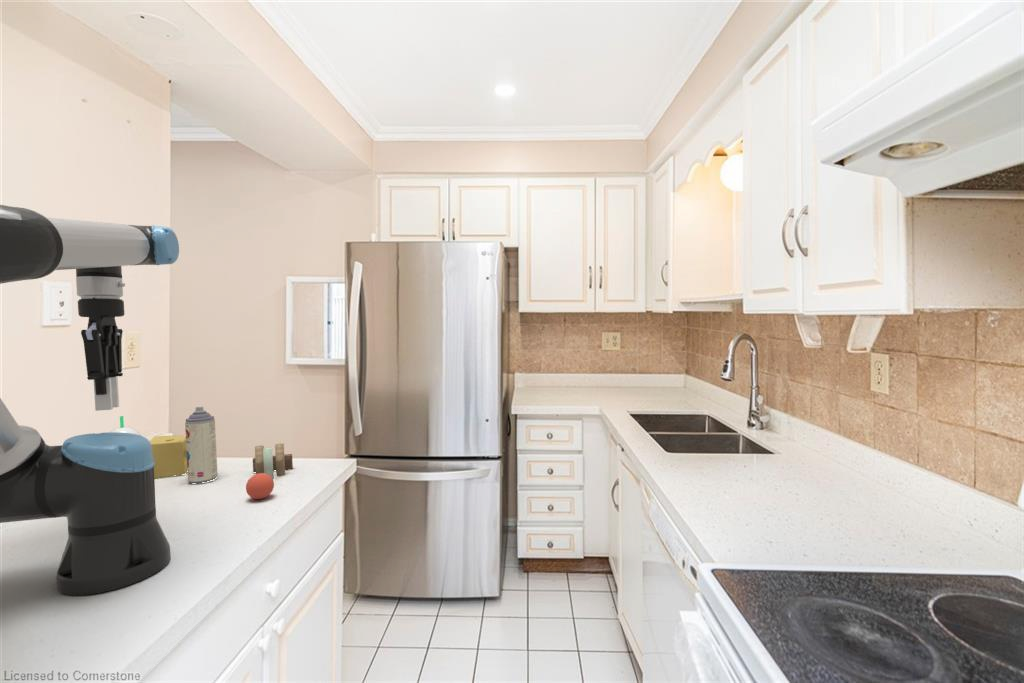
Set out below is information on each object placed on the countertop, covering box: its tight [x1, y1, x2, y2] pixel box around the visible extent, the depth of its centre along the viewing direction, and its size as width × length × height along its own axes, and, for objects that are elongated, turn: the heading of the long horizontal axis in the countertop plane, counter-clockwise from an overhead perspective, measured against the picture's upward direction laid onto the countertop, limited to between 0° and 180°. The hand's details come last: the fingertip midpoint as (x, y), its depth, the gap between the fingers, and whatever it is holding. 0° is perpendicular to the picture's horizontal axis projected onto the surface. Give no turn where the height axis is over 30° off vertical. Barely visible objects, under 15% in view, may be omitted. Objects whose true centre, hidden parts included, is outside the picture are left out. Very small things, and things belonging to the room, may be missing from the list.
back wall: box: [252, 453, 294, 473], centre depth 141 cm, size 2×10×4 cm, turn 109°
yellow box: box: [149, 435, 188, 479], centre depth 141 cm, size 10×11×10 cm
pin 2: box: [274, 443, 286, 477], centre depth 137 cm, size 2×2×8 cm
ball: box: [245, 473, 275, 500], centre depth 118 cm, size 6×6×6 cm
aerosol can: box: [184, 406, 219, 484], centre depth 133 cm, size 7×7×20 cm
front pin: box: [263, 447, 275, 479], centre depth 133 cm, size 2×2×8 cm
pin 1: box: [254, 444, 265, 474], centre depth 135 cm, size 2×2×8 cm
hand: (107, 408), depth 106 cm, fingers open, 3 cm apart
